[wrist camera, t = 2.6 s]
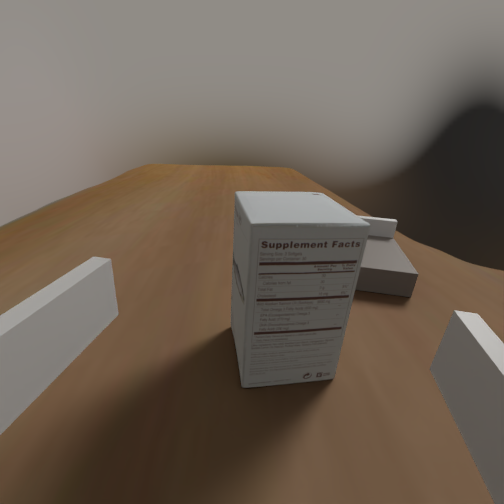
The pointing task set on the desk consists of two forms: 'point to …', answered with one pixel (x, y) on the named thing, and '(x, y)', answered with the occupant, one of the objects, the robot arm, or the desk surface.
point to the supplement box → (292, 284)
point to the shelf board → (385, 262)
